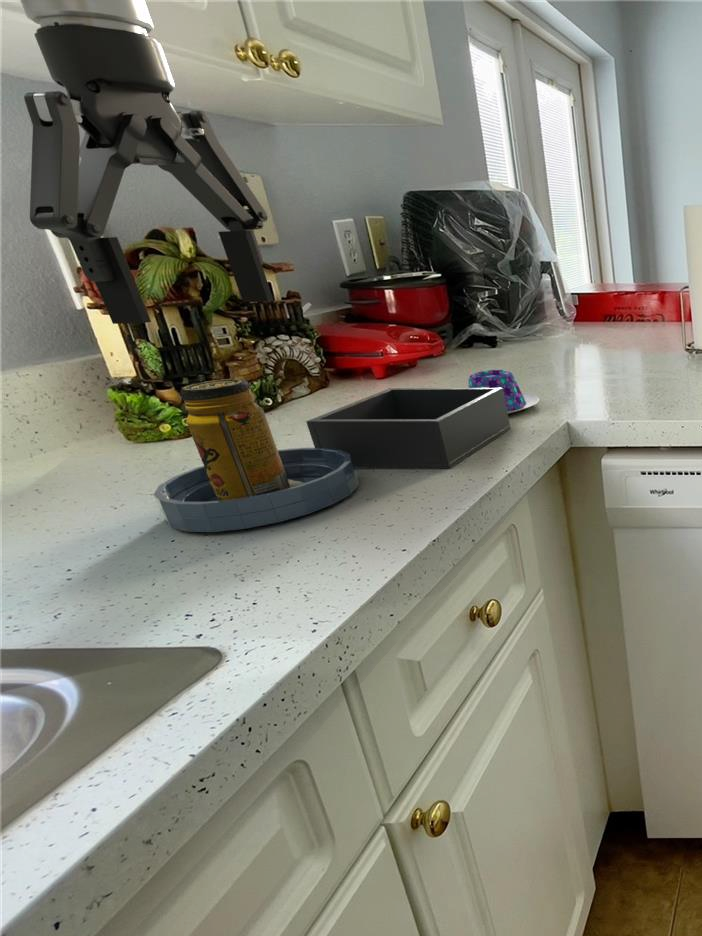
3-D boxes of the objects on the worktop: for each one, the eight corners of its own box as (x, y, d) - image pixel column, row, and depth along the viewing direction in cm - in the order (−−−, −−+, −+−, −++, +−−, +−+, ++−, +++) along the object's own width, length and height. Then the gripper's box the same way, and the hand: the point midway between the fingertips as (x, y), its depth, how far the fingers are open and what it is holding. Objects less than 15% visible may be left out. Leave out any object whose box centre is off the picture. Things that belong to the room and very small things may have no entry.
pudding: (546, 412, 102) (539, 376, 100) (455, 424, 97) (447, 387, 95) (533, 394, 112) (527, 361, 110) (450, 405, 107) (442, 370, 105)
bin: (321, 468, 82) (305, 421, 80) (400, 429, 96) (389, 388, 94) (449, 468, 81) (438, 421, 78) (510, 429, 95) (502, 387, 93)
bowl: (122, 534, 66) (107, 503, 65) (256, 474, 81) (246, 447, 79) (285, 537, 65) (273, 504, 63) (391, 475, 79) (383, 447, 78)
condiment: (201, 508, 70) (151, 389, 65) (286, 480, 77) (248, 370, 72) (246, 519, 68) (198, 395, 63) (330, 489, 75) (293, 375, 70)
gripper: (-43, -15, 44) (107, 333, 53) (262, 57, 67) (331, 294, 76) (-149, -8, 45) (17, 335, 54) (188, 61, 67) (266, 295, 76)
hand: (201, 311), depth 65 cm, fingers open, 13 cm apart
